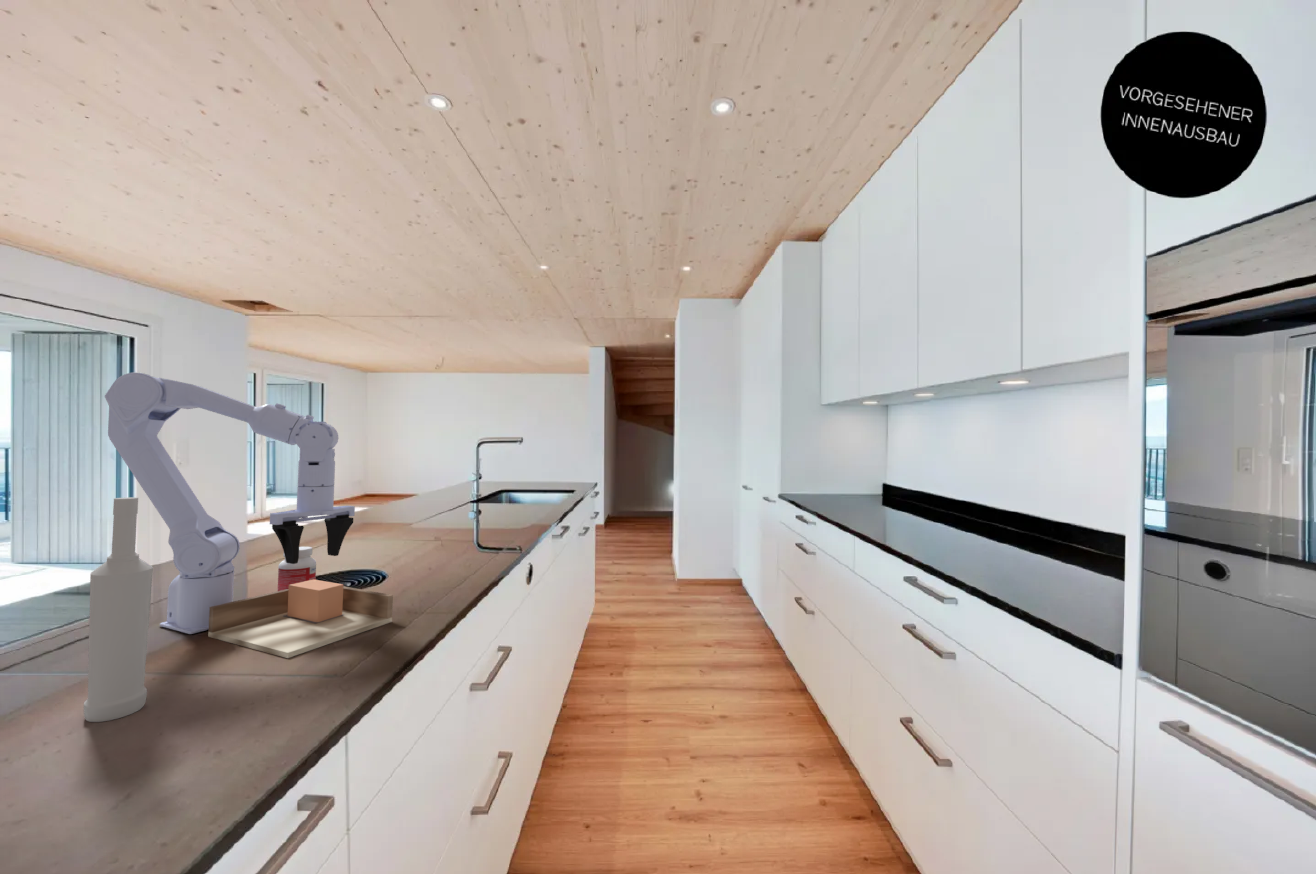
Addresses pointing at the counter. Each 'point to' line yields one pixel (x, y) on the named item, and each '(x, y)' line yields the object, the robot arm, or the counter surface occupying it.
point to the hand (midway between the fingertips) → (313, 559)
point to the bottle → (119, 623)
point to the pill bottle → (297, 569)
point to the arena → (295, 622)
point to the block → (315, 600)
